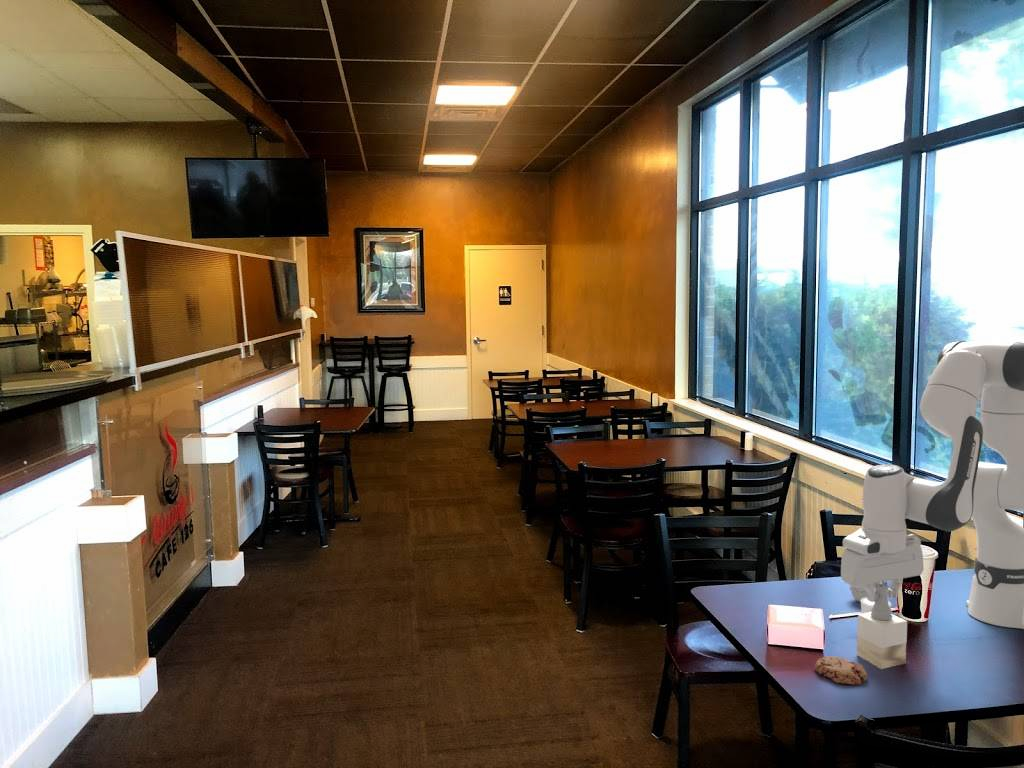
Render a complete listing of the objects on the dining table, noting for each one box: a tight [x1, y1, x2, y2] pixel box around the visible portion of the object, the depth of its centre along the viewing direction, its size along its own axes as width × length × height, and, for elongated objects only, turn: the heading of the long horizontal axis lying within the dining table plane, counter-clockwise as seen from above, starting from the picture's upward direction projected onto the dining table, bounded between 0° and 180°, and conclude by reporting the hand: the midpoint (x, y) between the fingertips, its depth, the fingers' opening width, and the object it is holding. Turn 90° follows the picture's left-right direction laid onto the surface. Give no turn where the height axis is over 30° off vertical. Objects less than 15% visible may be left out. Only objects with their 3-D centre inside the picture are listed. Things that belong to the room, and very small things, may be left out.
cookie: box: [814, 656, 868, 686], centre depth 164 cm, size 10×11×3 cm
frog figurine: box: [849, 585, 876, 603], centre depth 203 cm, size 6×7×7 cm
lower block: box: [856, 634, 907, 670], centre depth 171 cm, size 7×7×5 cm
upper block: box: [857, 612, 908, 648], centre depth 170 cm, size 7×7×5 cm
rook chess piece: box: [871, 581, 893, 621], centre depth 169 cm, size 4×4×8 cm
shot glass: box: [860, 597, 892, 614], centre depth 186 cm, size 7×7×7 cm
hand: (882, 598), depth 169 cm, fingers open, 4 cm apart
